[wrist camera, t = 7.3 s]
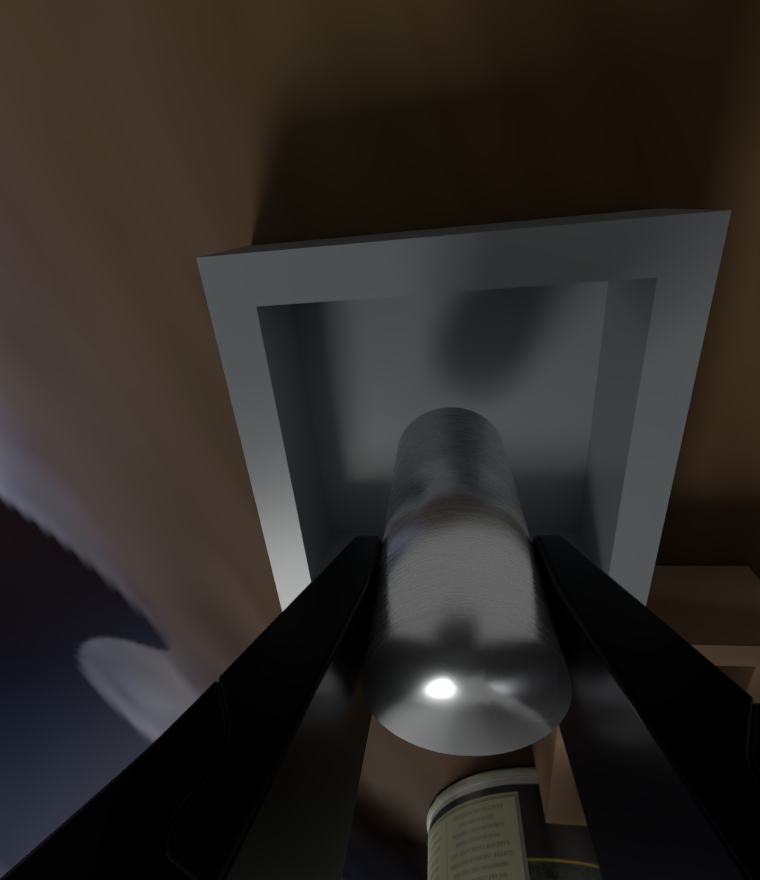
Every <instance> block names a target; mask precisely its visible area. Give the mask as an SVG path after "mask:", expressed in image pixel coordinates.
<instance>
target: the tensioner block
mask: <svg viewBox="0 0 760 880" xmlns="http://www.w3.org/2000/svg"><path fill="white" fill-rule="evenodd" d="M646 607H647V608H648V609H649V610H650V611H651V612H653V613H654V614H655V615H656V616H657V617H659V618H660V619H661V620H662V621H663V622H664V623H666V624H667V625H668V626H669V627H670V628H672V629H673V630H674V631H675V632H676V633H677V634H679V635H680V636H681V637H682V638H683V639H685V640H686V641H687V642H688V643H689V644H690V645H692V646H693V647H694V648H695V649H696V650H698V651H699V652H700V653H701V654H702V655H703V656H705V657H706V658H707V659H708V660H709V661H711V662H712V663H713V664H714V665H715V666H716V667H718V668H719V669H720V670H721V671H722V672H724V673H725V674H726V675H727V676H728V677H729V678H731V679H732V680H733V681H734V682H735V683H737V684H738V685H739V686H740V687H741V688H742V689H744V690H745V691H746V692H747V693H748V694H750V695H751V696H752V697H753V699H754V704H755V703H760V579H759V578H758V577H757V576H756V575H755V574H754V572H753V571H752V570H751V569H750V568H749V567H748V566H655V567H654V571H653V576H652V581H651V585H650V590H649V595H648V599H647V604H646ZM532 749H533V754H534V760H535V766H536V771H537V777H538V782H539V788H540V794H541V799H542V805H543V811H544V816H545V822H546V823H551V824H564V825H578V826H587V823H586V820H585V816H584V813H583V809H582V805H581V802H580V798H579V795H578V791H577V788H576V784H575V781H574V777H573V774H572V770H571V767H570V763H569V760H568V756H567V753H566V749H565V746H564V742H563V738H562V735H561V731H560V728H559V725H558V726H557V727H556V728H555V729H554V730H553V731H552V732H550V733H549V734H548V735H546V736H545V737H544V738H542V739H540V740H539V741H537V742H535V743H533V744H532Z"/></svg>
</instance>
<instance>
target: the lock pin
mask: <svg viewBox="0 0 760 880" xmlns="http://www.w3.org/2000/svg"><path fill="white" fill-rule="evenodd" d="M361 683H362V692H363V696H364V699H365V702H366V704H367V706H368V708H369V709H370V711H371V712H372V714H373V715H374V716H375V718H376V719H377V720H378V721H379V722H380V723H381V724H382V725H383V726H384V727H386V728H387V729H388V730H389V731H391V732H392V733H394V734H395V735H396V736H398V737H400V738H402V739H404V740H405V741H407V742H410V743H412V744H414V745H416V746H419V747H422V748H425V749H428V750H432V751H436V752H440V753H445V754H451V755H461V756H487V755H495V754H502V753H506V752H511V751H515V750H518V749H521V748H524V747H526V746H528V745H531V744H533V743H535V742H537V741H539V740H540V739H542V738H544V737H545V736H546V735H548V734H549V733H550V732H552V731H553V730H554V729H555V728H556V727H557V726H558V725H559V724H560V723H561V721H562V720H563V718H564V717H565V716H566V714H567V711H568V709H569V707H570V703H571V699H572V685H571V679H570V676H569V672H568V669H567V665H566V662H565V658H564V655H563V651H562V648H561V644H560V641H559V637H558V634H557V630H556V627H555V623H554V620H553V616H552V613H551V609H550V606H549V602H548V599H547V595H546V592H545V588H544V585H543V581H542V578H541V574H540V571H539V567H538V564H537V560H536V557H535V553H534V550H533V546H532V543H531V539H530V535H529V532H528V528H527V525H526V521H525V518H524V514H523V511H522V507H521V504H520V500H519V497H518V493H517V490H516V486H515V483H514V479H513V476H512V472H511V469H510V465H509V462H508V458H507V455H506V451H505V448H504V444H503V441H502V438H501V436H500V434H499V432H498V431H497V429H496V428H495V427H494V425H493V424H492V423H491V422H490V421H488V420H487V419H486V418H484V417H483V416H481V415H480V414H478V413H476V412H473V411H471V410H467V409H463V408H456V407H447V408H439V409H435V410H432V411H429V412H427V413H425V414H423V415H421V416H419V417H418V418H416V419H415V420H414V421H412V422H411V423H410V424H409V425H408V427H407V428H406V429H405V430H404V432H403V433H402V435H401V437H400V440H399V443H398V446H397V453H396V459H395V466H394V472H393V479H392V485H391V492H390V498H389V505H388V511H387V517H386V524H385V530H384V537H383V543H382V550H381V556H380V563H379V569H378V576H377V582H376V589H375V595H374V602H373V608H372V615H371V621H370V628H369V634H368V641H367V647H366V654H365V660H364V667H363V673H362V680H361Z"/></svg>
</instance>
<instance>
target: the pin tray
mask: <svg viewBox="0 0 760 880" xmlns="http://www.w3.org/2000/svg"><path fill="white" fill-rule="evenodd" d="M731 211H732V210H710V209H664V208H655V209H644V210H633V211H622V212H611V213H600V214H589V215H578V216H567V217H556V218H545V219H534V220H523V221H512V222H501V223H490V224H479V225H468V226H457V227H446V228H435V229H424V230H413V231H402V232H391V233H380V234H369V235H358V236H347V237H336V238H325V239H314V240H303V241H292V242H281V243H271V244H260V245H250V246H245V247H241V248H236V249H232V250H228V251H223V252H219V253H214V254H210V255H205V256H201V257H197V262H198V267H199V271H200V275H201V279H202V283H203V287H204V291H205V295H206V299H207V304H208V308H209V312H210V316H211V320H212V324H213V328H214V332H215V337H216V341H217V345H218V349H219V353H220V357H221V361H222V365H223V369H224V374H225V378H226V382H227V386H228V390H229V394H230V398H231V402H232V406H233V411H234V415H235V419H236V423H237V427H238V431H239V435H240V439H241V443H242V448H243V452H244V456H245V460H246V464H247V468H248V472H249V476H250V480H251V485H252V489H253V493H254V497H255V501H256V505H257V509H258V513H259V517H260V522H261V526H262V530H263V534H264V538H265V542H266V546H267V550H268V554H269V559H270V563H271V567H272V571H273V575H274V579H275V583H276V587H277V591H278V596H279V600H280V604H281V608H282V612H283V611H284V610H285V609H286V608H287V606H288V605H289V604H290V603H291V602H292V601H293V600H294V599H295V598H296V597H297V596H298V595H299V594H300V593H301V592H302V591H303V590H304V589H305V588H306V587H307V586H308V585H309V584H310V583H311V582H312V581H313V580H314V579H315V578H316V577H317V575H318V574H319V573H320V572H321V571H322V570H323V569H324V568H325V567H326V566H327V565H328V564H329V563H330V562H331V561H332V560H333V559H334V558H335V557H336V556H337V555H338V554H339V553H340V552H341V551H342V550H343V549H344V548H345V547H346V545H347V544H348V543H349V542H350V541H351V540H352V539H353V538H354V537H356V536H357V535H379V536H380V538H381V540H382V543H383V537H384V530H385V524H386V517H387V511H388V505H389V498H390V492H391V485H392V479H393V472H394V466H395V459H396V453H397V446H398V443H399V440H400V437H401V435H402V433H403V432H404V430H405V429H406V428H407V427H408V425H409V424H410V423H411V422H412V421H414V420H415V419H416V418H418V417H419V416H421V415H423V414H425V413H427V412H429V411H432V410H435V409H439V408H447V407H456V408H463V409H467V410H471V411H473V412H476V413H478V414H480V415H481V416H483V417H484V418H486V419H487V420H488V421H490V422H491V423H492V424H493V425H494V427H495V428H496V429H497V431H498V432H499V434H500V436H501V438H502V441H503V444H504V448H505V451H506V455H507V458H508V462H509V465H510V469H511V472H512V476H513V479H514V483H515V486H516V490H517V493H518V497H519V500H520V504H521V507H522V511H523V514H524V518H525V521H526V525H527V528H528V532H529V535H530V539H531V543H532V540H533V537H534V536H535V535H536V534H559V535H561V536H563V537H564V538H565V539H566V540H568V541H569V542H570V543H571V544H572V545H573V546H575V547H576V548H577V549H578V550H579V551H581V552H582V553H583V554H584V555H585V556H586V557H588V558H589V559H590V560H591V561H592V562H594V563H595V564H596V565H597V566H598V567H599V568H601V569H602V570H603V571H604V572H605V573H607V574H608V575H609V576H610V577H611V578H612V579H614V580H615V581H616V582H617V583H618V584H620V585H621V586H622V587H623V588H624V589H625V590H627V591H628V592H629V593H630V594H631V595H633V596H634V597H635V598H636V599H637V600H638V601H640V602H641V603H642V604H643V605H644V606H646V604H647V599H648V595H649V590H650V585H651V581H652V576H653V571H654V567H655V562H656V558H657V553H658V548H659V544H660V539H661V534H662V530H663V525H664V521H665V516H666V511H667V507H668V502H669V497H670V493H671V488H672V484H673V479H674V474H675V470H676V465H677V460H678V456H679V451H680V447H681V442H682V437H683V433H684V428H685V423H686V419H687V414H688V410H689V405H690V400H691V396H692V391H693V386H694V382H695V377H696V373H697V368H698V363H699V359H700V354H701V349H702V345H703V340H704V336H705V331H706V326H707V322H708V317H709V312H710V308H711V303H712V299H713V294H714V289H715V285H716V280H717V275H718V271H719V266H720V262H721V257H722V252H723V248H724V243H725V238H726V234H727V229H728V225H729V220H730V215H731Z"/></svg>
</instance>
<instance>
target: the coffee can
mask: <svg viewBox="0 0 760 880" xmlns="http://www.w3.org/2000/svg"><path fill="white" fill-rule="evenodd" d="M427 831H428V880H603V879H602V876H601V872H600V869H599V865H598V862H597V858H596V855H595V851H594V848H593V844H592V841H591V837H590V834H589V830H588V827H587V826H578V825H564V824H551V823H546V822H545V816H544V811H543V805H542V799H541V794H540V788H539V782H538V777H537V771H536V767H512V768H501V769H497V770H492V771H487V772H482V773H478V774H475V775H472V776H470V777H467V778H465V779H463V780H461V781H459V782H457V783H455V784H453V785H452V786H450V787H448V788H447V789H445V790H444V791H443V792H441V793H440V794H439V795H438V796H437V797H436V799H435V801H434V803H433V804H432V805H431V807H430V809H429V812H428V816H427Z"/></svg>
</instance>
